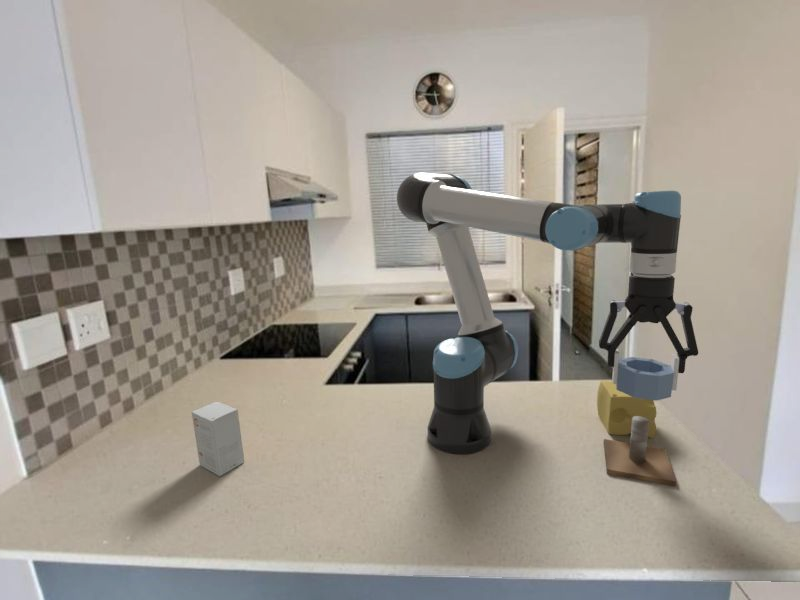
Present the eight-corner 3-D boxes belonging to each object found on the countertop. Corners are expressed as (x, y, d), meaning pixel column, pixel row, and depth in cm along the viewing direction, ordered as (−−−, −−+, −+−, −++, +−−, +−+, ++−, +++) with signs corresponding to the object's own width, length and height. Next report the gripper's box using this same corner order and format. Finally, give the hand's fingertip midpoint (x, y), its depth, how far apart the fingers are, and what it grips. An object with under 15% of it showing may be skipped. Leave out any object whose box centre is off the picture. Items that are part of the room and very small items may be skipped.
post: (606, 473, 86) (610, 428, 84) (603, 442, 97) (606, 402, 95) (675, 486, 82) (681, 439, 79) (664, 452, 92) (668, 410, 90)
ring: (617, 394, 83) (619, 371, 82) (614, 377, 91) (617, 355, 90) (673, 403, 79) (676, 378, 78) (665, 383, 88) (668, 361, 86)
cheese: (655, 438, 98) (659, 399, 96) (605, 435, 100) (608, 396, 98) (640, 417, 108) (643, 380, 106) (595, 414, 110) (597, 378, 108)
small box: (245, 462, 95) (238, 408, 92) (219, 477, 90) (211, 421, 87) (224, 451, 99) (217, 400, 96) (198, 465, 94) (190, 411, 91)
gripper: (588, 276, 81) (583, 385, 86) (729, 278, 72) (714, 399, 77) (587, 270, 88) (583, 371, 93) (716, 272, 79) (704, 383, 84)
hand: (643, 384), depth 85 cm, fingers closed on ring, 9 cm apart
